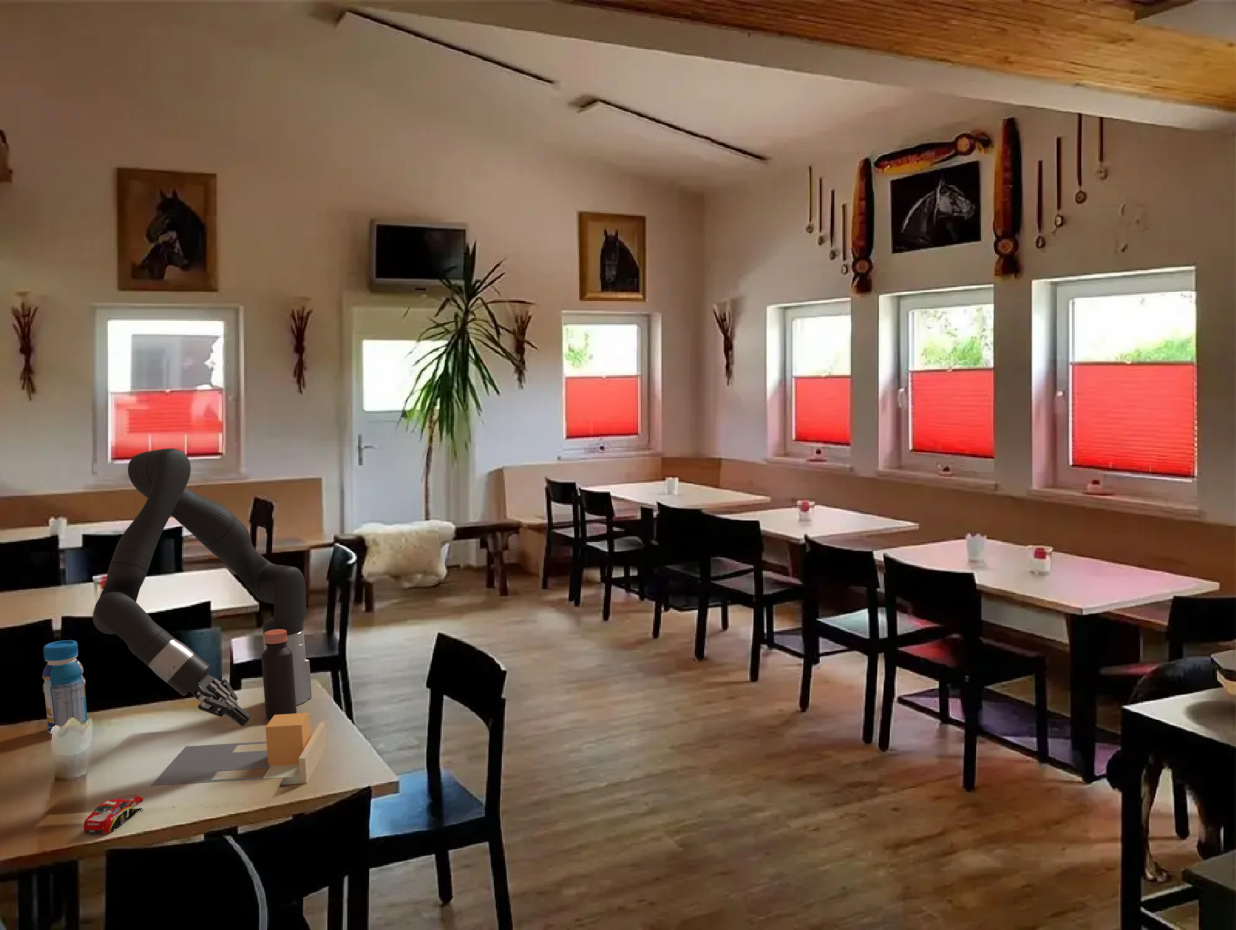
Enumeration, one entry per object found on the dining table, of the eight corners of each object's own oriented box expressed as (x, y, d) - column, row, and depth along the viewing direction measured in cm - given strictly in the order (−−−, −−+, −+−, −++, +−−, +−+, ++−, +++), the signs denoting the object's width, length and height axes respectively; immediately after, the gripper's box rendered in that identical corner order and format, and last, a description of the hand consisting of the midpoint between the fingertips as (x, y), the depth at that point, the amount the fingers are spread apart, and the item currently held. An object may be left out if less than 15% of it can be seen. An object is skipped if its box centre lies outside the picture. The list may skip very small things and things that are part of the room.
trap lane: (151, 793, 195) (148, 768, 195) (186, 753, 215) (184, 730, 215) (306, 783, 198) (304, 758, 197) (327, 744, 217) (325, 721, 217)
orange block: (268, 766, 203) (265, 727, 202) (277, 752, 210) (274, 714, 209) (304, 763, 203) (301, 724, 203) (311, 750, 210) (309, 712, 210)
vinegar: (266, 713, 238) (260, 630, 236) (296, 709, 240) (290, 626, 238) (265, 723, 232) (259, 637, 230) (296, 719, 234) (290, 634, 232)
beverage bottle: (71, 737, 227) (63, 649, 225) (38, 735, 229) (29, 648, 227) (97, 723, 235) (89, 639, 233) (65, 722, 237) (57, 638, 235)
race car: (123, 805, 191) (121, 785, 191) (150, 806, 191) (148, 785, 190) (77, 838, 178) (75, 816, 178) (106, 839, 178) (104, 816, 177)
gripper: (180, 662, 197) (251, 720, 199) (202, 643, 210) (268, 697, 212) (154, 691, 197) (225, 748, 199) (178, 670, 210) (244, 723, 212)
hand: (247, 721), depth 206 cm, fingers closed
